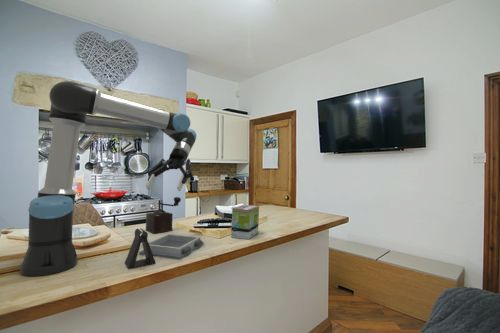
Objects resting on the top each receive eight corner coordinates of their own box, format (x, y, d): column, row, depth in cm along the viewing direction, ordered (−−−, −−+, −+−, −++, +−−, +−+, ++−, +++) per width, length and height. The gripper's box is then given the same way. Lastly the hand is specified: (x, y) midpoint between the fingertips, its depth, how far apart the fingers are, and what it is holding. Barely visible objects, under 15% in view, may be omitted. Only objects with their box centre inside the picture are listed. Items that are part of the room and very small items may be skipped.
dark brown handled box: (155, 234, 130) (155, 199, 130) (145, 230, 138) (145, 197, 138) (181, 229, 142) (182, 197, 142) (171, 226, 149) (171, 195, 149)
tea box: (249, 240, 124) (250, 209, 124) (230, 237, 127) (231, 207, 127) (258, 232, 138) (259, 205, 138) (241, 230, 141) (241, 204, 141)
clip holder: (139, 254, 100) (139, 245, 100) (168, 240, 120) (168, 233, 120) (181, 259, 95) (181, 250, 95) (205, 244, 115) (205, 236, 115)
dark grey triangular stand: (128, 269, 86) (129, 233, 86) (124, 263, 90) (125, 229, 91) (155, 263, 91) (156, 230, 91) (151, 258, 96) (151, 226, 96)
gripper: (207, 159, 119) (194, 195, 105) (158, 159, 124) (139, 193, 109) (203, 147, 114) (189, 183, 99) (152, 147, 119) (131, 181, 104)
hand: (162, 188), depth 104 cm, fingers open, 13 cm apart
